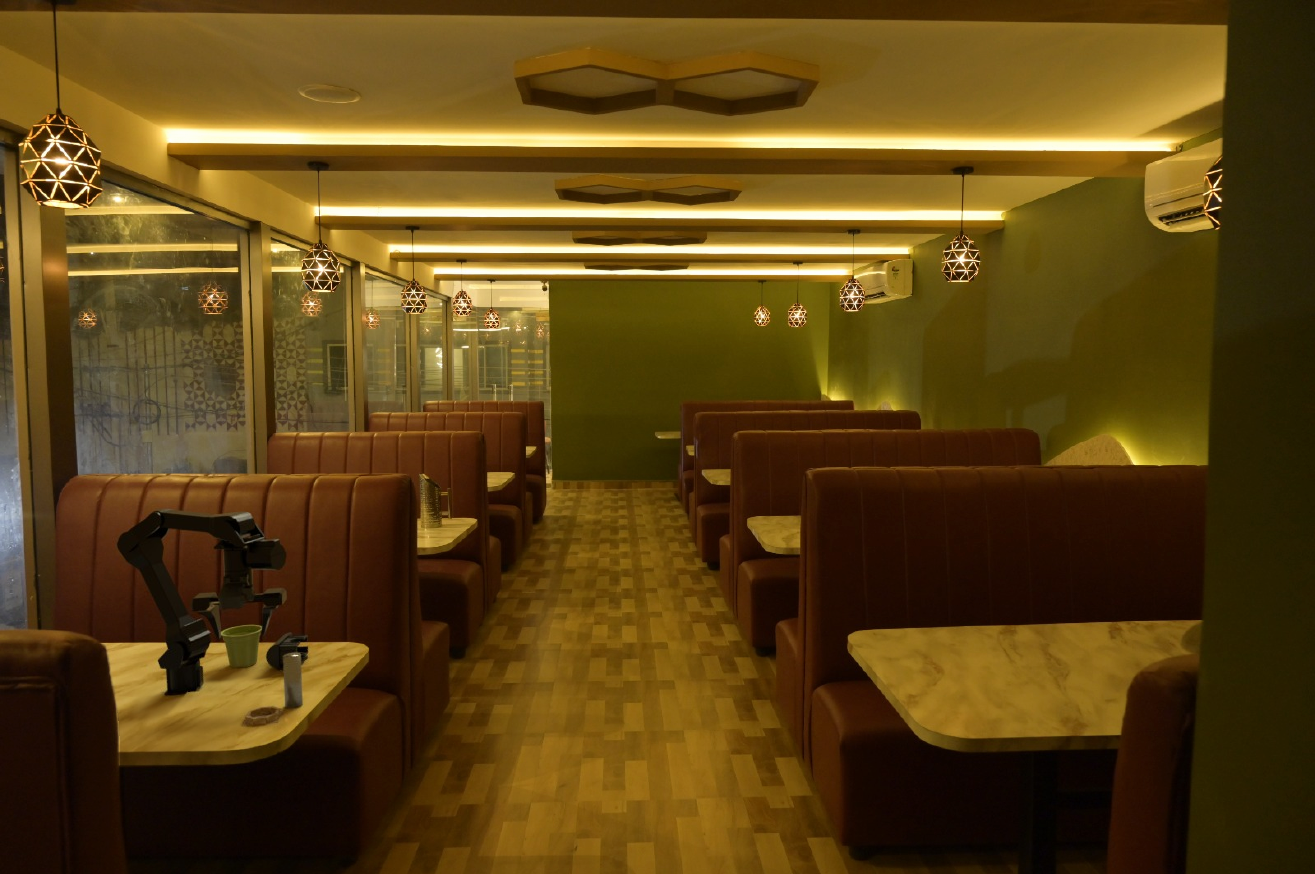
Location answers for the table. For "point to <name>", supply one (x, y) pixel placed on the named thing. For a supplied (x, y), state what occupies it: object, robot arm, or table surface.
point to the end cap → (286, 649)
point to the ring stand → (263, 716)
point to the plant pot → (242, 644)
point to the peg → (292, 680)
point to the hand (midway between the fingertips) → (241, 636)
